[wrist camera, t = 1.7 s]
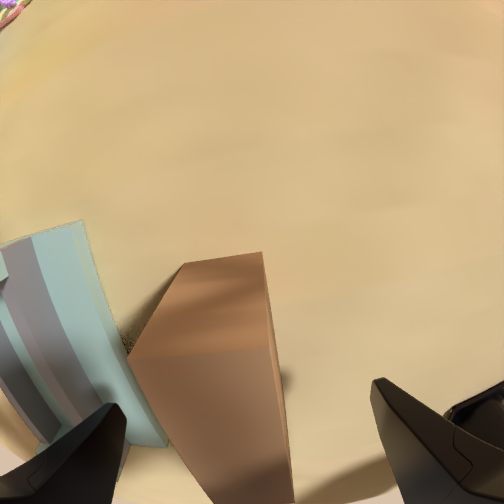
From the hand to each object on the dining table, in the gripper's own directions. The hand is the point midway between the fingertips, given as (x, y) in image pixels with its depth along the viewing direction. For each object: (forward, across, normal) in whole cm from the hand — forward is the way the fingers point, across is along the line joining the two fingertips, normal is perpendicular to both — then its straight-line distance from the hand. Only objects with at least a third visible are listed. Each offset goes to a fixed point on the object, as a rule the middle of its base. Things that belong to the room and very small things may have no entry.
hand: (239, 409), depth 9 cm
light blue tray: (+4, +11, 0) cm, 12 cm away
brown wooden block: (+4, 0, 0) cm, 4 cm away
